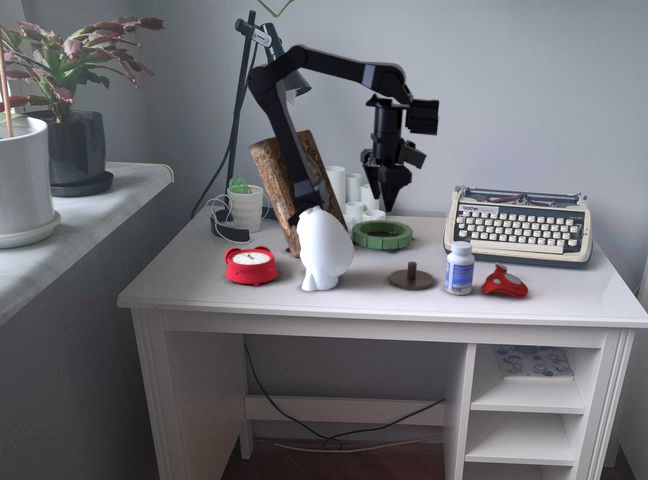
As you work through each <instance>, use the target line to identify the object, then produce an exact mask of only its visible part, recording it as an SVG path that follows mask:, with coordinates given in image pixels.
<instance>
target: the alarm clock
mask: <svg viewBox="0 0 648 480" xmlns="http://www.w3.org/2000/svg"><path fill="white" fill-rule="evenodd" d="M275 259H276V258H275V256H274V254H273V253H272V251H271V249H270V248H269V247H267V246H264V245H257V246H255V247H254V248H246V249H241V248H239V247H231V248H229V249H228V250H227V251H226V252H225V254H224V262H225V264H226V265H227V268H226V271H225V277H226V279H227V280H229V281H230V282H233V283H236V284H245V285H253V287H260V284H263V283H268V282H270V281H273V280H274V279H275V280H276V278H277V277H278V276H279V270H278V268H277V266H276V263H275Z"/></svg>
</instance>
